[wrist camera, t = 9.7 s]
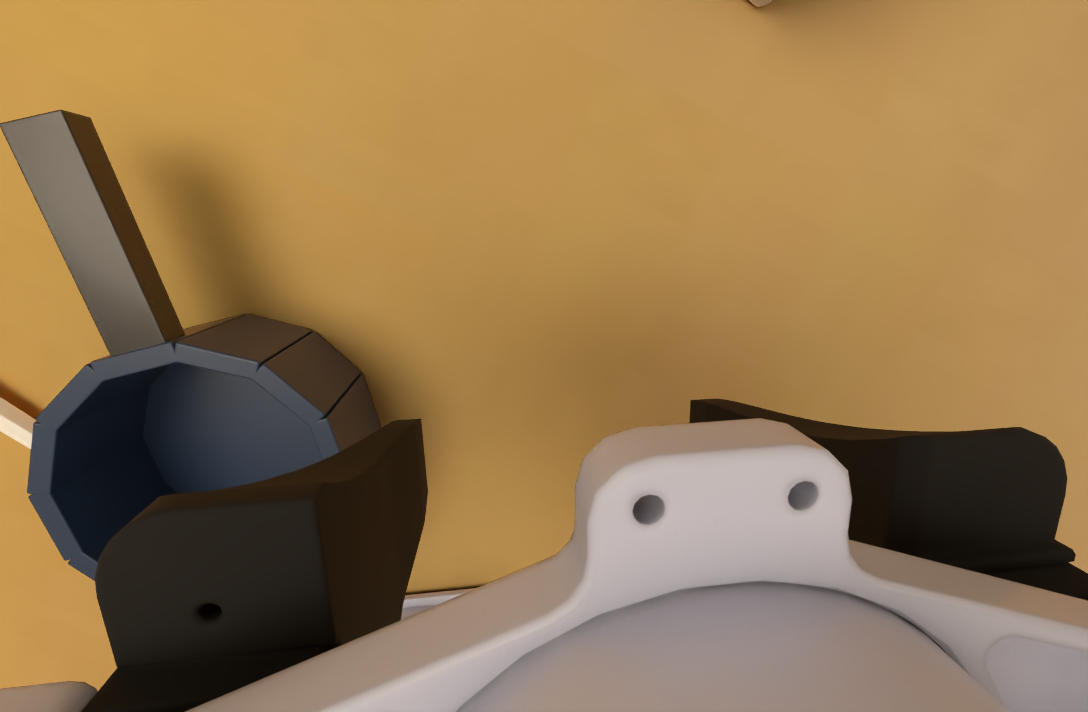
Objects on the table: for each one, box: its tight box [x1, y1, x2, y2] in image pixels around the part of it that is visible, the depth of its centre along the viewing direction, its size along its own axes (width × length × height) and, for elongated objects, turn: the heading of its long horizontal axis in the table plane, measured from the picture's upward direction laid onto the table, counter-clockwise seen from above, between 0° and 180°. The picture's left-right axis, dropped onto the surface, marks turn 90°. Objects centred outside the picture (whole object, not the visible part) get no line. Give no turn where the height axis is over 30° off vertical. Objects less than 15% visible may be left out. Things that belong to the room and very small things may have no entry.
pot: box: [0, 110, 381, 581], centre depth 20 cm, size 17×10×6 cm, turn 13°
